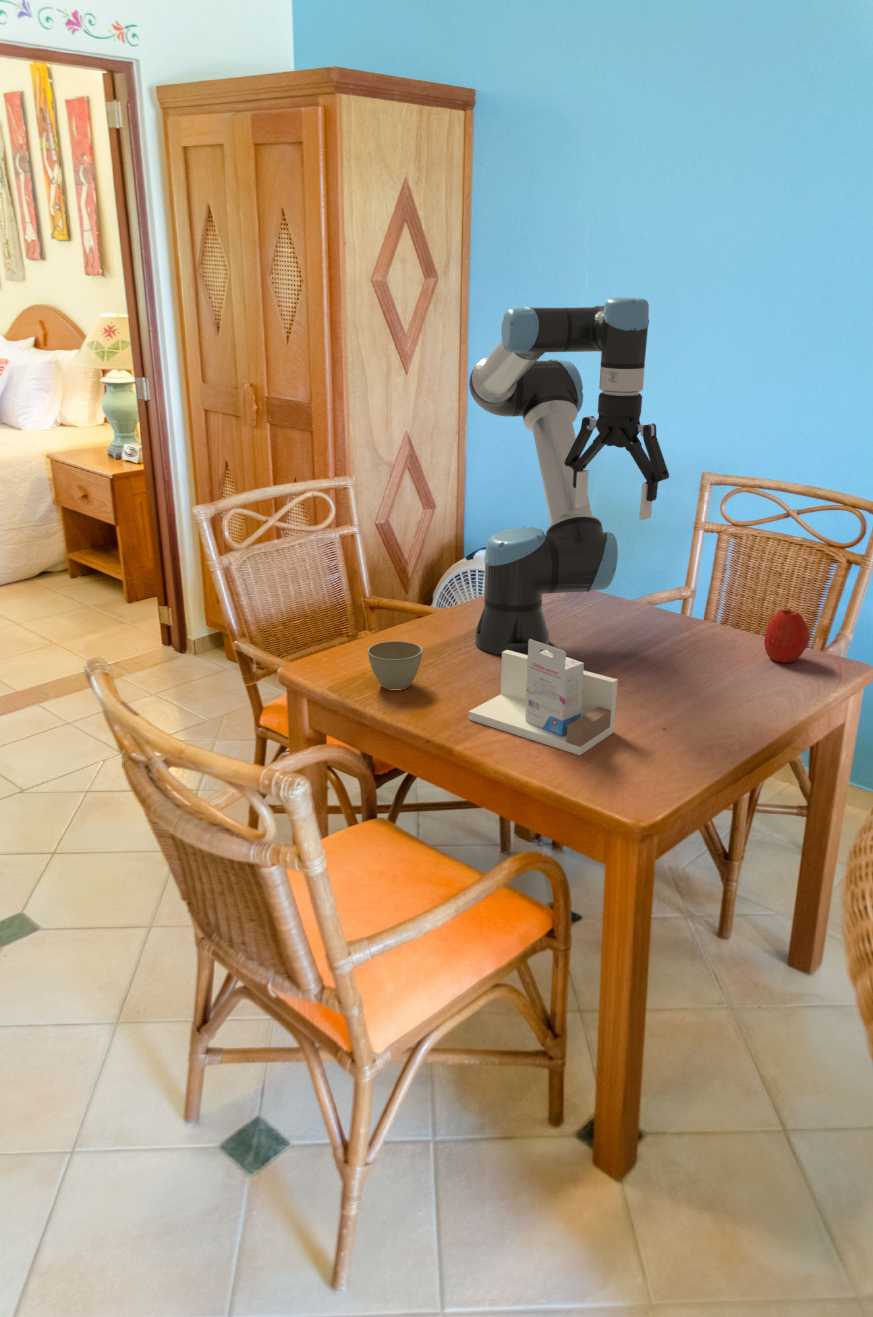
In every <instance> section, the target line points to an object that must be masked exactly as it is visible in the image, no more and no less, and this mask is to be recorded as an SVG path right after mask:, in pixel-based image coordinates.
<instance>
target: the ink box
mask: <svg viewBox="0 0 873 1317" xmlns="http://www.w3.org/2000/svg"><path fill="white" fill-rule="evenodd" d="M540 650H543V651H541V652H540ZM584 665H585V663H584V662H582V661H579V660H576V659H574V658H571V657H567V652H566V650H563V649H561V648H557V647H554V646H552V645H550V644H549V645H546V644H543V643H540V642H537V641H534V640H532V639H529V641H528V657H527V684H526V712H525V720H526V721H527V722H529V723H532V724H534V725H536V726H539V727H541V728H543V729H546V730H548V731H550V732H553V733H555V734H557V735H560V736H564V735H566V734H567V726H568V725H569V724H571V723H572V722H574V721H576V720H577V719H579V718H580V717H581V710H582V690H583V671H585V670H584V668H585V667H584Z"/></svg>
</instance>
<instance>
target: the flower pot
mask: <svg viewBox="0 0 873 1317" xmlns="http://www.w3.org/2000/svg"><path fill="white" fill-rule="evenodd" d="M367 655H368V659H369V663H370V667H371V669H372V671H373V674H374V676H375V678H376V680H377V681H378V683H379V684H380V685H382V686H383V687H385V688H388V689H404V688H407V687H408V688H409V687H410V686H411V685H412V683H413V681H414V679H415V677H416V676H417V673H418V672H419V669H420V665H421V662H422V656H423V647H422V646H420V645H419V644H417V643H414V642H410V641H405V640H404V641H403V640H402V641H401V640H391V641H390V640H389V641H382V642H378V643H374V644H372V645H371V646H369V647H368V649H367ZM382 686H381V687H382ZM383 687H382V688H383ZM408 688H407V689H408ZM404 690H405V689H404Z"/></svg>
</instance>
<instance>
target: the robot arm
mask: <svg viewBox="0 0 873 1317" xmlns="http://www.w3.org/2000/svg"><path fill="white" fill-rule="evenodd" d="M649 306H650V304H649V302H648V300H646V299H645V298H643V297H642V298H640V297H639V298H637V297H636V298H635V297H610V298H608V299H607V300H606V301H605V302H604V305H596V306H595V305H594V306H591V307H590V306H589V307H584V306H583V307H530V306H524V307H518V308H510V309H508V310H507V311H505V313H504V315H503V319H502V322H501V341H500V342H499V343H498V345H497V346H496V347H495V348H494V349H493V351H492V352H491V353H490V354H489V356H486V357H483V359H481V360H479V361H478V363H476V365H475V366H474V368H472V370H471V373H470V376H469V382H468V387H469V390H470V395H471V396H472V398H473V400H474V401H475V403H476V404H477V405H478V406H479V407H481V408H482V409H483V410H484V411H486V412H488V413H490V414H491V415H494V416H500V417H505V418H506V417H511V418H512V417H522V419H523V424H524V427H525V428H526V430H528V431H530V432H532V434H533V437H534V443H535V450H536V454H537V459H538V465H539V469H540V473H541V474H540V475H541V479H542V484H543V485H542V486H543V489H544V494H545V495H544V496H545V500H546V505H547V510H548V516H549V521H550V525H549V526H548V527H547V529H546V531H544V530H542V528H537V527H526V526H524V527H523V526H521V527H520V526H519V527H511V528H508V529H504V530H500V531H497V532H496V533H494V534H492V535H491V536H490V537H489V538H488V539H487V541H486V544H485V553H484V554H485V555H484V559H483V562H484V605H483V610H482V613H481V615H480V618H479V621H478V623H477V627H476V629H475V633H474V637H475V638H474V643H475V645H476V647H477V648H478V649H481V650H482V651H483V652H484V651H485V652H487V653H491V654H495V655H499V656H500V655H501V656H502V652H503V651H505V650H510V651H513V652H517V653H521V654H525V655H528V641H529V639H532V640H534V641H537V642H540V643H543V644H546V645H549V646H550V632H549V630H548V627H547V623H546V622H547V621H546V618H545V615H544V612H543V607H542V606H543V596H544V595H546V594H548V595H549V594H564V593H566V594H567V593H583V592H586V593H590V592H592V591H593V592H594V591H602V590H605V589H607V588H608V587H609V586H610V585H611V584H612V583H613V580H614V579H615V578H614V577H615V575H616V571H617V566H618V558H619V557H618V556H619V554H618V551H619V549H618V541H617V538H616V536H615V534H614V533H612V532H609V531H605V532H604V529H603V524H602V522H601V520H600V519H599V518H598V517H596V516H594V515H593V513H592V509H591V504H590V499H589V495H588V486H589V470H587V469H586V468H587V466H588V465H589V463H591V461H592V460H594V458H595V457H596V456H597V455H598V453H600V451H601V450H602V449H603V448H604V447H605V446H607V447H617V448H621V449H622V448H625V450H626V451H627V452H629V454H630V455H631V457H632V459H633V460H634V462H635V464H636V466H637V467H638V469H639V471H640V472H641V474H642V475H643V478H644V479H645V480H646V481H644V482H642V483H641V494H640V496H641V497H640V506H639V507H640V508H639V520H640V521H641V520H642V521H644V520H646V519H650V518H651V517H652V509H653V508H652V507H653V502H654V501H656V500H657V497H658V489H659V483H660V482H661V481H665V480H668V479H669V478H670V473H669V470H668V467H667V464H666V461H665V459H664V455H663V452H662V450H661V447H660V443H659V440H658V438H657V425H656V423H654V422H653V423H649V424H641V422H640V418H641V415H642V407H643V395H642V394H641V393H640V392H642V391H643V390H644V383H645V382H644V381H645V380H644V378H645V368H646V367H645V364H646V363H645V362H646V352H647V344H648V343H647V342H648V329H649V324H650V319H649V311H650V309H649V308H650V307H649ZM573 352H574V353H576V352H577V353H578V352H579V353H580V352H582V353H584V352H585V353H587V352H593V353H594V352H601V353H600V354H601V355H600V356H601V357H600V368H599V369H600V371H599V385H598V386H599V387H598V388H599V390H600V391H602V392H600V393H599V394H598V399H597V400H598V401H597V413H598V417H597V418H596V417H595V416H594V415H590V416H586V417H584V416H583V417H582V420H581V425H580V430H579V432H578V434H577V435H576V433H575V428H574V427H575V426H574V422H575V421H576V419H577V417H578V414H579V412H580V411H581V410H582V408H583V403H584V392H583V390H584V387H583V386H584V385H583V381H582V377H581V373H580V372H579V370H578V368H577V366H575V364H574V363H573V362H571V361H568V360H558V359H553V358H552V359H548V360H539V359H540V358H541V357H542V356H543V355H544V354H545V353H573ZM595 429H597V431H598V435H597V436H595V438H594V439H593V440H592V443H591V444H590V445H589V446H588V448H587V449H586V450H585V447H587V443H588V442H589V440H590V438H591V436H592V433H593V432H594V430H595ZM639 434H640V436H641V437H642V438H643V439H642V440H643V443H644V446H645V449H646V452H647V453H646V452H645V450H644V448H643V447H642V441H641V440H640V439H639V437H638V435H639ZM584 450H585V451H584ZM583 451H584V452H583ZM542 651H544V650H540V652H542Z"/></svg>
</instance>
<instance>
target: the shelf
mask: <svg viewBox="0 0 873 1317" xmlns="http://www.w3.org/2000/svg"><path fill="white" fill-rule="evenodd" d="M527 657H528V655H525V654H521V653H517V652H513V651H510V650H505V651H503V652H502V655H501V675H500V677H501V678H500V679H501V680H500V694H498V695H497V696H495V697H493V698H491V699H489V700H487V701H485V702H484V703H482V704H480V705H478V706H476V707H475V708H471V710H469V711H468V720H470V721H472V722H476V723H478V724H482V725H485V726H489V727H491V728H494V729H497V730H500V731H504V732H507V733H510V734H513V735H516V736H519V737H521V738H523V739H524V738H525V739H528V740H531V741H534V742H537V743H541V744H543V745H547V746H549V747H552V748H556V749H559V750H561V751H565V752H569V753H571V754H573V755H576V756H581V755H583V754H584V753H585V752H587V751H589V750H590V749H592V748H593V747H595V746H596V745H597V744H599V743H600V742H601V741H603V740H604V739H606V738H608V737H609V736H610V735H612V734H613V733H614V732H615V723H616V709H617V708H616V707H617V696H618V695H617V692H618V681H619V679H617V678H614V677H610V676H607V675H603V674H598V673H595V672H592V671H591V672H590V671H587V670H584V671H583V690H582V710H581V717H580V718H579V719H577V720H576V721H574V722H572V723H571V724H569V725H568V726H567V734H566V735H564V736H560V735H557V734H555V733H553V732H550V731H548V730H546V729H543V728H541V727H539V726H536V725H534V724H532V723H529V722H527V721H526V720H525V712H526V684H527Z"/></svg>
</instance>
